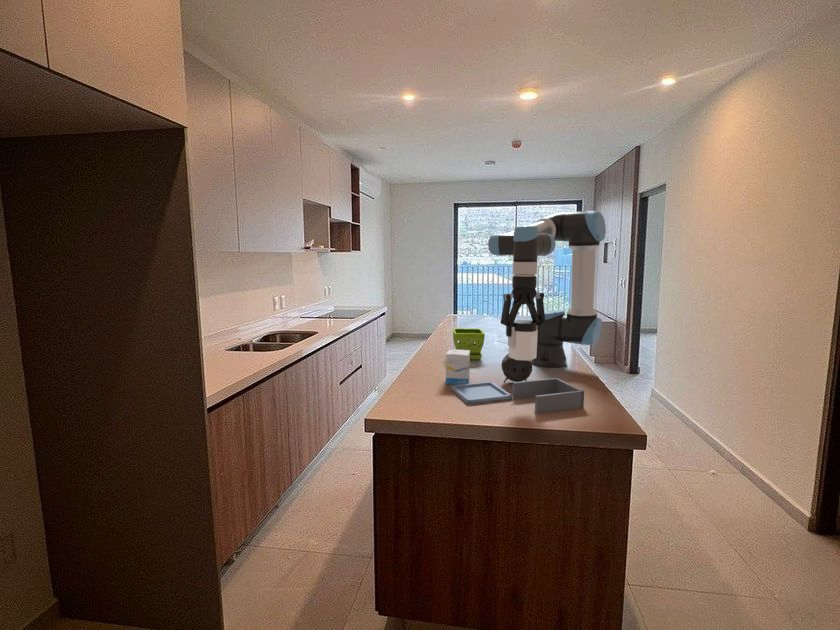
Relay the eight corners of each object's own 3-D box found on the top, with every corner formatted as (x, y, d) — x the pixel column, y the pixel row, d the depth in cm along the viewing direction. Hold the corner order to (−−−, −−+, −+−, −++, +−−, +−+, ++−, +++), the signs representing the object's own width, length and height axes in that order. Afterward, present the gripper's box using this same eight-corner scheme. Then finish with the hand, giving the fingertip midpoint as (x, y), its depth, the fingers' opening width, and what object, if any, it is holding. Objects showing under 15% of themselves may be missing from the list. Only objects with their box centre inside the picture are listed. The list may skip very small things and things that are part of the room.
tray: (491, 385, 161) (491, 381, 160) (512, 399, 145) (512, 395, 145) (450, 389, 156) (450, 385, 156) (468, 404, 141) (468, 400, 141)
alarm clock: (529, 381, 165) (531, 340, 162) (532, 386, 159) (534, 343, 157) (500, 381, 165) (502, 339, 163) (502, 385, 160) (503, 342, 158)
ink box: (468, 385, 160) (468, 355, 158) (445, 384, 162) (445, 354, 160) (470, 378, 169) (470, 349, 167) (448, 377, 170) (448, 348, 168)
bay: (555, 392, 152) (556, 377, 151) (583, 407, 138) (584, 391, 137) (512, 397, 147) (513, 382, 146) (536, 413, 133) (537, 396, 132)
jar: (517, 353, 148) (518, 318, 146) (539, 357, 143) (541, 321, 141) (504, 358, 141) (505, 321, 139) (527, 362, 136) (529, 324, 134)
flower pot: (484, 361, 195) (485, 333, 193) (453, 361, 195) (454, 333, 193) (480, 353, 208) (481, 327, 206) (451, 353, 209) (452, 327, 207)
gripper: (545, 273, 144) (542, 340, 148) (490, 275, 138) (488, 345, 142) (559, 275, 137) (556, 345, 141) (501, 276, 131) (499, 350, 135)
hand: (522, 345), depth 141 cm, fingers closed on jar, 8 cm apart
